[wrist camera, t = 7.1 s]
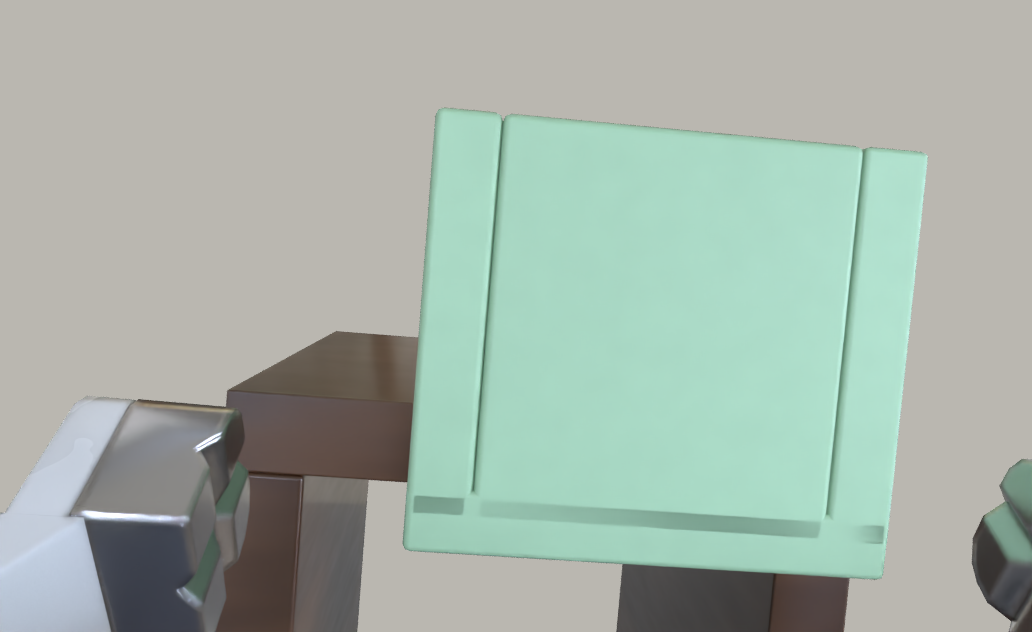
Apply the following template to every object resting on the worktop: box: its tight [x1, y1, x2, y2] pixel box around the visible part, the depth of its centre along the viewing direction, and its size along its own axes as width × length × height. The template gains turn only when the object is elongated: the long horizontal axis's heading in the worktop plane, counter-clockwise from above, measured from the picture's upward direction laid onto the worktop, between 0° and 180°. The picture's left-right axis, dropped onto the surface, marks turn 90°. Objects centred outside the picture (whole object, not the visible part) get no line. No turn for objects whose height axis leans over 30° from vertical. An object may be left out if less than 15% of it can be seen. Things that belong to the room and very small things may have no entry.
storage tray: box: [403, 108, 928, 580], centre depth 19 cm, size 4×22×4 cm, turn 3°
